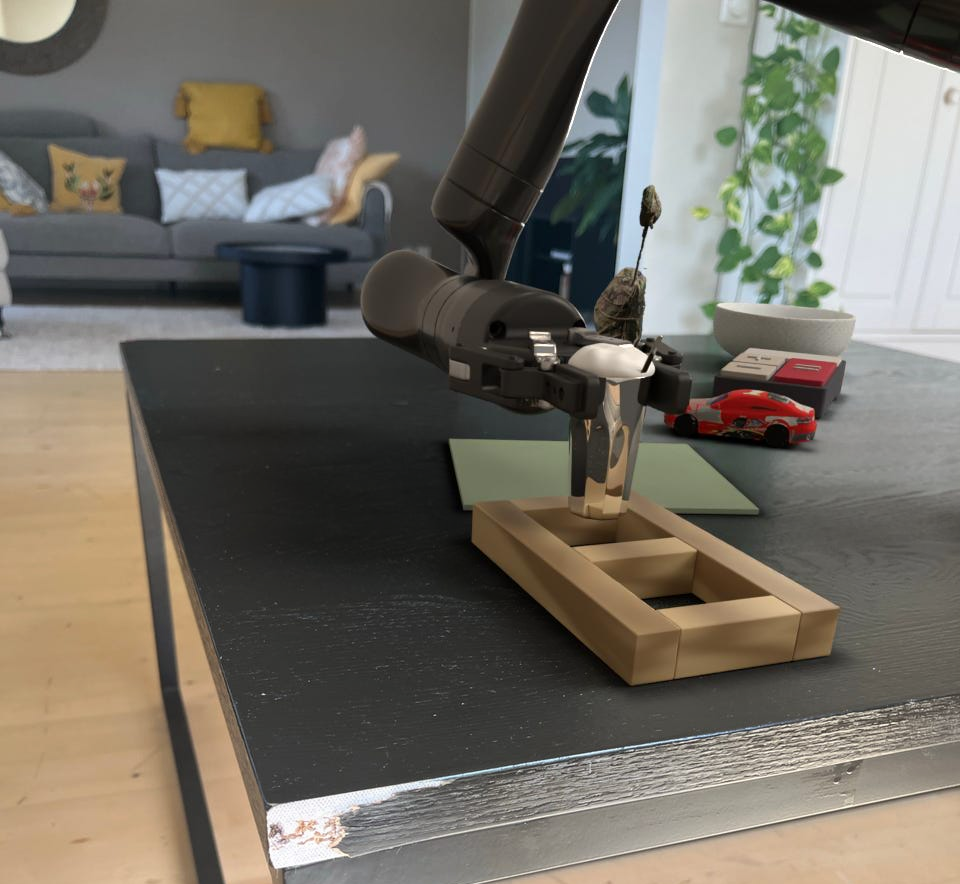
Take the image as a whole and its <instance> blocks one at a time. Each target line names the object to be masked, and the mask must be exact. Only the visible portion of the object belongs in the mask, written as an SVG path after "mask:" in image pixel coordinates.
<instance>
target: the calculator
mask: <svg viewBox="0 0 960 884" xmlns="http://www.w3.org/2000/svg"><path fill="white" fill-rule="evenodd" d="M846 365H847V361H846V360H844V359H843V358H842V357H841V356H838V357H833V356H823V355H814V354H804V353H794V352H785V351H775V350H766V349H756V348H749V349H747V350H746V351H744V352H743V353H741V354H740V355H738V356H737V357H734V358H733V359H732V361H730V362H728V363H727V364H726V365H725V366H724V367H723V368H721V370H720V371H719V372H718V373H716V374H715V375H714V377H713V379H714V380H713V386H712V394H711V398H714V397H717V396H720V395H723V394H726V393H729V392H731V391H735V390H758V391H765V392H770V393H775V394H778V395H782V396H785V397H788V398H790V399H791V400H793V401H795V402H797V403H799V404H801V405H804V406H807V407H810V408H813V409H814V417H815V419H821V418H823V417H824V415H825V414H826V411H828V409H829V408H830V406H831V404H832V403H833V401H836V400H837V399H838V397H839V395H840V394H841V391H842V387H843V383H844V377H845V371H846V367H847V366H846Z"/></svg>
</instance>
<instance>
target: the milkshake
mask: <svg viewBox="0 0 960 884" xmlns="http://www.w3.org/2000/svg"><path fill="white" fill-rule="evenodd" d="M663 338H664V335H657V336H656V338H655V342H654V344H653V346H652V349H651V351H650V353H649V355H648V356H647V355H646V354H644V353H643V352H641V351H640V350H638V349H637V348H635V347H621V346H617V345H612V344H606V343H598V344H593V345H589V346H585V347H583V348H581V349H580V350H578V351H577V352H576V353H575V354H574V355H573V356H572V357H571V358H570V360H569V362H568V364H570V365H572V366H575V367H577V368H580V369H582V370H585V371H587V372H590V373H592V374H595V375H597V376H598V378H599V381H600V392H599V403H598V414H597V417H596V418H595V419H593V420H579V419H577V418H575V417H573V416H571V415H569V414H568V441H569V462H568V508H569V510H570V513H571V514H574V515H576V516H579V517H581V518H584V519H593V520H601V521H603V520H614V519H619V518H620V517H622V516H624V515H626V511H627V506H628V501H629V496H630V491H631V485H632V480H633V475H634V470H635V464H636V459H637V454H638V448H639V443H641V437H642V432H643V427H644V422H645V416H646V412H647V408H648V406H647V403H648V399H649V394H650V390H651V385H652V381H653V376H654V372H655V367H654V364H653V362H652V360H653V358H654V355H655V353H656V351H657V349H658V347H659V345H660V343H661V342H662V340H663Z"/></svg>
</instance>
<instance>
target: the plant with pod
mask: <svg viewBox="0 0 960 884" xmlns="http://www.w3.org/2000/svg"><path fill="white" fill-rule="evenodd" d="M662 210H663V209H662V203H661V200H660V196H659V195H658V192H657V191H656V187H655V186H654V185H653V184H649V185H648V186H646V187H645V188H644V189H643V191H642V197H641V201H640V211H639V216H638V217H639V218H638V220H639V225H640V227H642V228H643V229H642V233H641V238H642V240H641V245H640V250H639V253H638V255H637V261H636V266H635V267H632V266H629V267H627V266H625V267H624V268H621V270H619V271H618V273H617V274H616V275H614V277H612V278H611V279H612V280H611V281H610V282H609V284H608V285H607V286H606V288H605V289H604V291H603V292H602V293H601V294H600V296H599V298H598V299H597V301H596V303H595V306H594V307H593V309H594V310H593V317H592V318H593V320H592V321H593V325H594V328H595V329H594V330H596V331H597V332H598V334H599V335H600V336H606V337H611V338H616V339H621V340H627V341H630V342H631V343H632V344H633V346H634V347H635V348H637V343H640V340H642V339H641V338H642V335H643V324H644V315H645V310H646V305H647V304H646V297H645V295H646V293H647V292H646V289H647V277H646V275H644V274H643V273H642V271H641V270H639V267H640V262H641V259H642V252H643V250H644V248H645V241H646V238H647V235H648V231H649V229H650V230H653V229H654V225H655V224H656V223H657V221H658V220H659V219H660V217H661V216H662ZM643 269H644V270H648V268H646V267H643Z"/></svg>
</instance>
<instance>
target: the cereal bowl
mask: <svg viewBox="0 0 960 884" xmlns="http://www.w3.org/2000/svg"><path fill="white" fill-rule="evenodd" d="M712 319H713V322H712V328H713V334H714V338H715V340H716V342H717V343H718V345H719V346H720V348H721V349H722V350H723V351H725V352H726V353H728V354H729V355H731V356H733V357H734V358H736V357H737V356H738V355H740V354H741V353H743V352H744V351H746V350H747V349H749V348H756V349H766V350H775V351H785V352H794V353H804V354H814V355H823V356H833V357H840V356H841V355H842V353H844V352H845V350H846V349H847V347H848V346H849V344H850V342H851V340H852V337H853V334H854V332H855V331H854V330H855V327H856V322H857V321H856V320H857V318H856V315H854V314H851V313H848V312H845V311H838V310H832V309H825V308H817V307H807V306H797V305H788V304H787V305H786V304H774V303H760V302H759V303H758V302H757V303H756V302H755V303H754V302H719V303H717V304H716V305H715V308H714V314H713V318H712Z"/></svg>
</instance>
